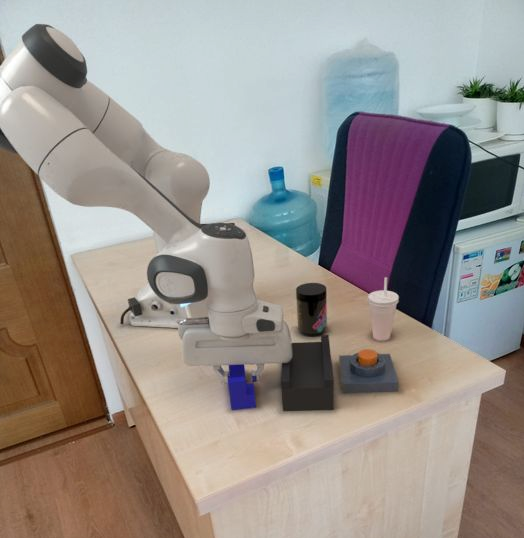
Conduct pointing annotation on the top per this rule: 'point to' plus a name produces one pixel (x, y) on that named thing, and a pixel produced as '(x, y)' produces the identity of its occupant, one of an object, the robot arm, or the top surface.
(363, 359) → the button
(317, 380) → the inspection stand
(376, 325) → the smoothie
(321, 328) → the supplement container
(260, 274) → the top surface
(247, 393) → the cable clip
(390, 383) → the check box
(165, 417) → the top surface
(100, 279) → the top surface
